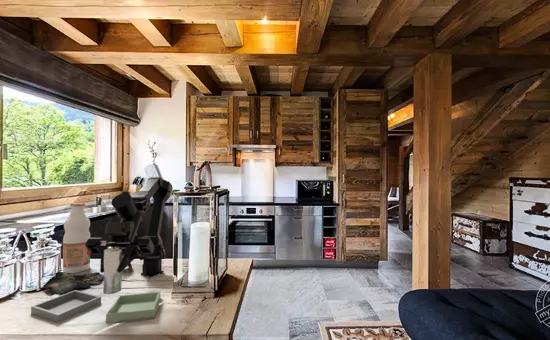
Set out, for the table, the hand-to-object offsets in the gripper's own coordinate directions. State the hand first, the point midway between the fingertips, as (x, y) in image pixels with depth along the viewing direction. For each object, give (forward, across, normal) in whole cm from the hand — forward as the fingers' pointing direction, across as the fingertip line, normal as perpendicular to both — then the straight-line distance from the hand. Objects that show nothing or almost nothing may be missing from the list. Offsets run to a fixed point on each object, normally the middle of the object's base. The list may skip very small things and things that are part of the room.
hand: (110, 272), depth 80 cm
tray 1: (+6, -14, +11) cm, 19 cm away
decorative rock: (-6, -22, +25) cm, 34 cm away
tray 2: (+7, +6, +10) cm, 14 cm away
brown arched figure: (-16, -14, +35) cm, 41 cm away
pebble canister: (+3, 0, +5) cm, 6 cm away
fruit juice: (-18, -34, +37) cm, 53 cm away
